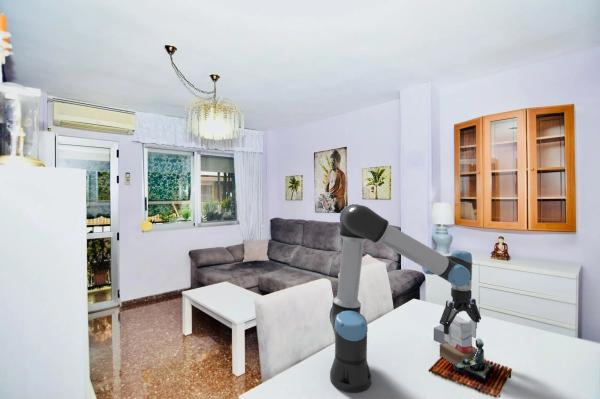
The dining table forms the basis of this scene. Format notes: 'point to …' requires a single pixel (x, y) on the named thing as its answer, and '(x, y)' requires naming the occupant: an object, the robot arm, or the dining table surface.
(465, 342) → the ink box
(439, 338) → the slate block
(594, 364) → the dining table surface
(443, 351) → the walnut block
